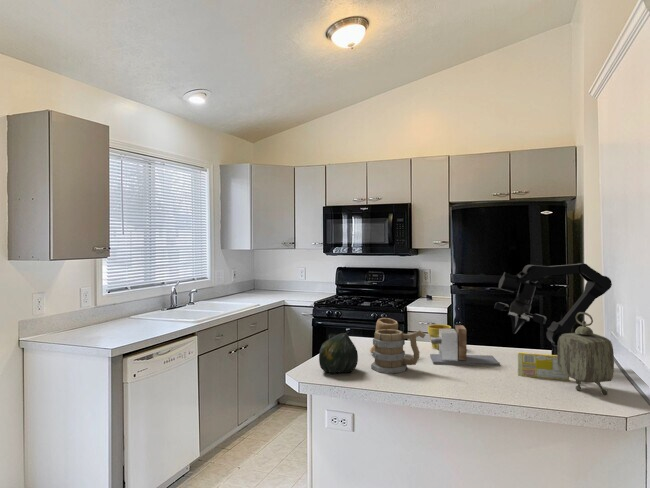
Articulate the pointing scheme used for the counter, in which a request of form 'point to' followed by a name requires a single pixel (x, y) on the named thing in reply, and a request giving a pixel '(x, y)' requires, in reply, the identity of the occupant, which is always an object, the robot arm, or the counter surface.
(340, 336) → the squash
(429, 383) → the counter surface
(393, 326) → the stone cup
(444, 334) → the bearing block
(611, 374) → the tabletop clock
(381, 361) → the tankard
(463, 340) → the wood block
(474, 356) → the mat
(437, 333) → the plant pot
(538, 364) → the candy box
